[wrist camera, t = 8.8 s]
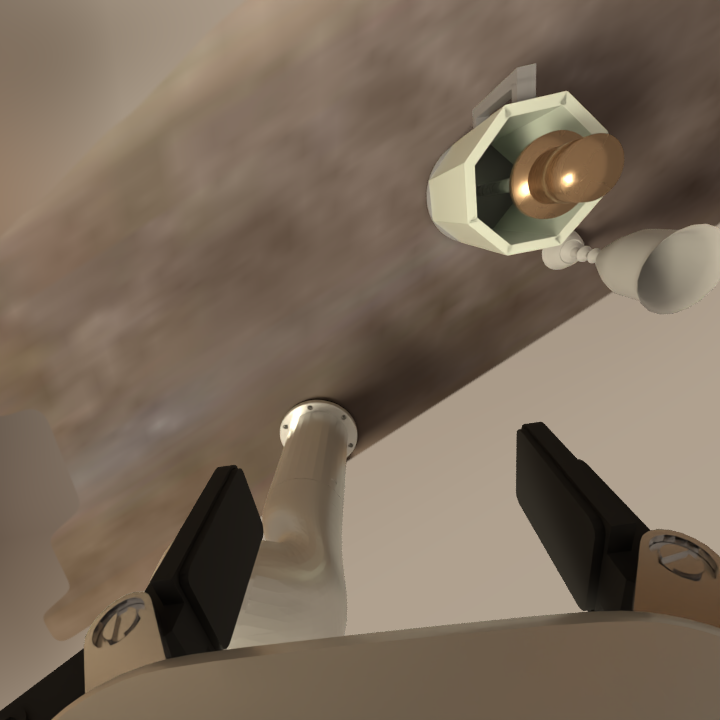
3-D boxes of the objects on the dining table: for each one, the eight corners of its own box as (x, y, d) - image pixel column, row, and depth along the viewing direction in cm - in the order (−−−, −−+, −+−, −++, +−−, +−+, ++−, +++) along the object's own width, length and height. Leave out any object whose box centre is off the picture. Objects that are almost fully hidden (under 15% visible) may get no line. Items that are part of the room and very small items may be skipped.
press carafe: (521, 232, 43) (603, 241, 28) (431, 250, 44) (465, 268, 29) (521, 105, 38) (622, 36, 23) (418, 128, 39) (453, 76, 24)
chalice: (558, 210, 42) (686, 207, 25) (601, 234, 43) (750, 247, 27) (523, 264, 45) (618, 294, 28) (564, 286, 46) (678, 327, 29)
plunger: (502, 211, 40) (635, 209, 21) (455, 221, 41) (542, 228, 21) (501, 159, 38) (648, 101, 19) (452, 169, 39) (545, 124, 19)
